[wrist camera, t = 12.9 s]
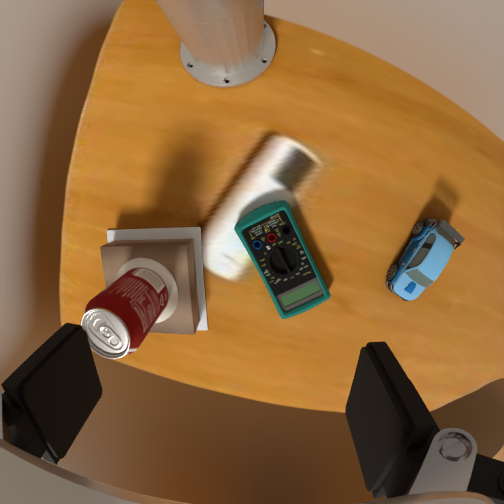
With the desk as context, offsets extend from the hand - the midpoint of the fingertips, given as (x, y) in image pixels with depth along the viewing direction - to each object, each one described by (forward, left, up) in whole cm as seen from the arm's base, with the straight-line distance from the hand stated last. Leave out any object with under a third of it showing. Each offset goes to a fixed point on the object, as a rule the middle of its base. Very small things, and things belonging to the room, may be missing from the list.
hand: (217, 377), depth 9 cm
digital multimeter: (+5, +4, -32) cm, 32 cm away
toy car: (+5, +24, -31) cm, 39 cm away
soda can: (+7, -14, -27) cm, 31 cm away
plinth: (+8, -14, -31) cm, 34 cm away
